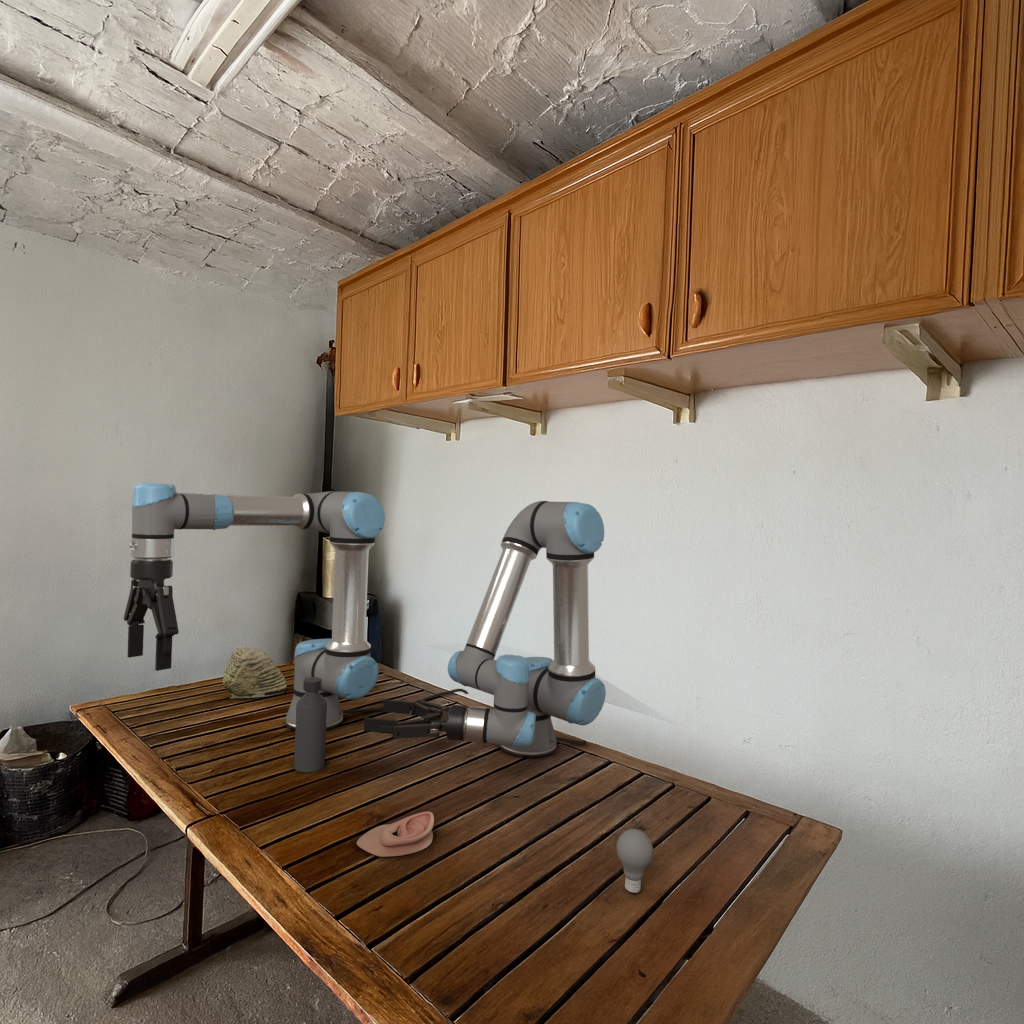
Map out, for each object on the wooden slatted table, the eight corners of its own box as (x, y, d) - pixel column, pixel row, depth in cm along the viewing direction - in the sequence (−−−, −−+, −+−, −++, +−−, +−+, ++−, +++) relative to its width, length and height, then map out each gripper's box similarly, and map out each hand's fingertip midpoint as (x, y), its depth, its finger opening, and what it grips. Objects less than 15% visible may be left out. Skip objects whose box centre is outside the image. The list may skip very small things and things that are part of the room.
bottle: (319, 773, 145) (322, 686, 145) (289, 771, 145) (292, 684, 145) (328, 761, 152) (331, 677, 151) (299, 759, 152) (303, 676, 151)
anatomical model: (349, 829, 113) (376, 800, 125) (348, 851, 113) (375, 820, 125) (420, 841, 111) (440, 810, 122) (419, 863, 111) (439, 830, 122)
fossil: (218, 695, 195) (220, 647, 195) (278, 685, 208) (279, 640, 207) (228, 703, 189) (230, 653, 188) (289, 692, 201) (290, 645, 201)
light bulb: (610, 879, 108) (613, 822, 108) (644, 879, 109) (647, 822, 109) (619, 902, 102) (622, 840, 102) (655, 901, 103) (658, 840, 103)
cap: (318, 691, 146) (318, 682, 146) (300, 691, 146) (301, 681, 146) (323, 686, 150) (324, 677, 150) (306, 685, 150) (306, 676, 150)
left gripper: (108, 554, 134) (104, 654, 134) (159, 565, 118) (155, 678, 119) (146, 552, 140) (143, 648, 140) (199, 563, 124) (195, 671, 124)
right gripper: (454, 761, 129) (353, 751, 132) (474, 722, 154) (389, 714, 156) (456, 725, 129) (356, 714, 132) (476, 691, 154) (391, 683, 156)
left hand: (148, 662), depth 129 cm, fingers open, 13 cm apart
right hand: (374, 714), depth 144 cm, fingers open, 13 cm apart
